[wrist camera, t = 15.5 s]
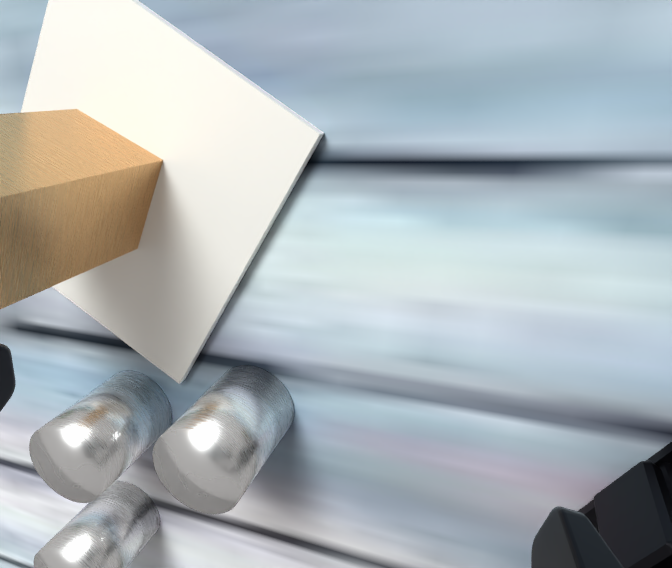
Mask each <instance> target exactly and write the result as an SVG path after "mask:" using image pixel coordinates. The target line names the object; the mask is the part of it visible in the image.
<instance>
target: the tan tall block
mask: <svg viewBox="0 0 672 568" xmlns="http://www.w3.org/2000/svg"><path fill="white" fill-rule="evenodd" d="M162 163H163V160H162V159H161V158H159V157H157V156H156V155H154V154H152V153H151V152H149V151H147V150H146V149H144V148H142V147H140V146H139V145H137V144H135V143H134V142H132V141H130V140H129V139H127V138H125V137H124V136H122V135H120V134H118V133H117V132H115V131H113V130H112V129H110V128H108V127H107V126H105V125H103V124H102V123H100V122H98V121H96V120H95V119H93V118H91V117H90V116H88V115H86V114H85V113H83V112H81V111H80V110H78V109H67V110H52V111H38V112H24V113H10V114H0V309H2V308H4V307H7V306H9V305H11V304H13V303H16V302H18V301H20V300H22V299H25V298H27V297H29V296H32V295H34V294H36V293H38V292H41V291H43V290H45V289H47V288H50V287H52V286H54V285H56V284H59V283H61V282H63V281H66V280H68V279H70V278H72V277H75V276H77V275H79V274H81V273H84V272H86V271H88V270H90V269H93V268H95V267H97V266H100V265H102V264H104V263H106V262H109V261H111V260H113V259H115V258H118V257H120V256H122V255H124V254H127V253H129V252H131V251H134V250H136V249H138V245H139V242H140V239H141V235H142V232H143V228H144V225H145V221H146V218H147V215H148V211H149V208H150V204H151V201H152V197H153V194H154V190H155V187H156V184H157V180H158V177H159V173H160V170H161V166H162Z"/></svg>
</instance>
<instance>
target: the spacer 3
mask: <svg viewBox="0 0 672 568" xmlns="http://www.w3.org/2000/svg"><path fill="white" fill-rule="evenodd" d="M293 417H294V408H293V403H292V399H291V397H290V395H289V393H288V391H287V389H286V388H285V387H284V385H283V384H282V383H281V382H280V381H279V380H278V379H277V378H276V377H275V376H273V375H272V374H270V373H269V372H267V371H265V370H263V369H261V368H258V367H254V366H248V365H242V366H236V367H234V368H231V369H230V370H228V371H227V372H226V373H225V374H224V375H223V376H222V377H221V378H220V379H218V380H217V381H216V382H215V383H214V384H213V385H212V386H211V387H210V388H209V389H208V390H207V391H206V392H205V393H204V394H203V395H202V396H201V397H200V398H199V399H198V400H197V401H196V402H195V403H194V404H193V405H192V406H191V407H190V408H189V409H188V410H187V411H186V412H185V413H184V414H183V415H182V416H181V417H180V418H179V419H178V420H177V421H176V422H175V423H174V424H173V425H171V426H170V427H169V428H168V429H167V430H166V431H165V432H164V433H163V434H162V435H161V436H160V437H159V438H158V440H157V441H156V443H155V445H154V448H153V464H154V468H155V470H156V473H157V475H158V477H159V479H160V480H161V482H162V484H163V485H164V486H165V488H166V489H167V490H168V491H169V492H170V493H171V494H172V495H173V496H174V497H175V498H176V499H177V500H179V501H180V502H181V503H183V504H184V505H186V506H188V507H190V508H192V509H194V510H196V511H199V512H202V513H207V514H221V513H225V512H228V511H229V510H231V509H232V508H233V507H235V505H236V504H237V503H238V501H239V500H240V498H241V497H242V495H243V494H244V493H245V491H246V490H247V488H248V487H249V485H250V484H251V482H252V481H253V479H254V478H255V477H256V475H257V474H258V472H259V471H260V469H261V468H262V466H263V465H264V464H265V462H266V461H267V459H268V458H269V456H270V455H271V453H272V452H273V450H274V449H275V448H276V446H277V445H278V443H279V442H280V440H281V439H282V437H283V436H284V434H285V433H286V432H287V430H288V429H289V427H290V426H291V424H292V421H293Z"/></svg>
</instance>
